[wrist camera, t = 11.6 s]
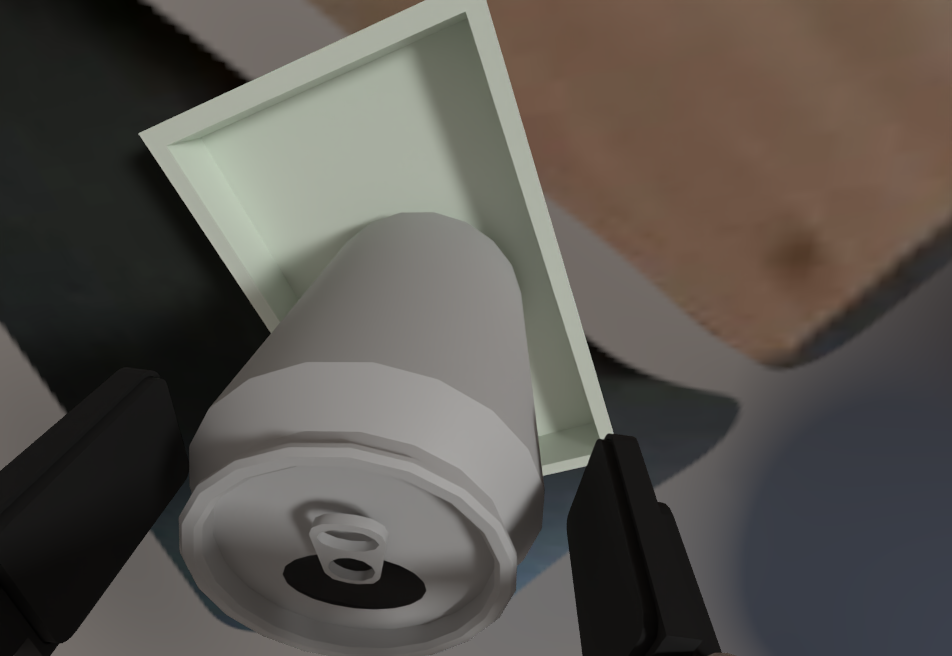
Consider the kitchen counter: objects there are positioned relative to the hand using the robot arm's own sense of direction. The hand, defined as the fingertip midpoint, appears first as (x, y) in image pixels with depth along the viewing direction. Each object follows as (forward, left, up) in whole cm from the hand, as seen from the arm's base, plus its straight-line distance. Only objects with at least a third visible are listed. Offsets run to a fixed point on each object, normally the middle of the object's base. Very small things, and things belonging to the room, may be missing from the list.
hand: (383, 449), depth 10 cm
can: (+1, 0, -10) cm, 10 cm away
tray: (+1, 0, -10) cm, 10 cm away
